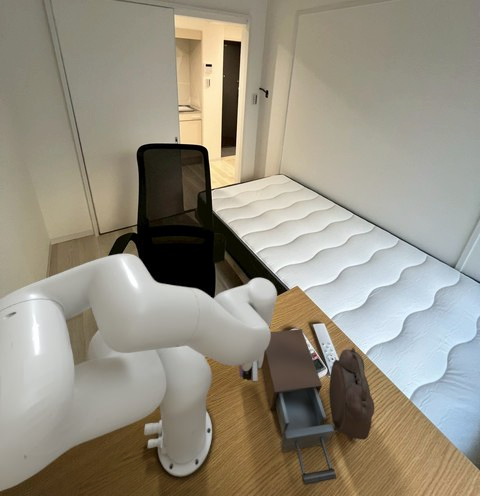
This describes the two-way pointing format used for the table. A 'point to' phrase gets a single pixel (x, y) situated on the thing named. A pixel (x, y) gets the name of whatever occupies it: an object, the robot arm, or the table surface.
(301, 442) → the tray
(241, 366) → the purple cube
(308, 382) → the brown drawer cabinet
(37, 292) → the robot arm
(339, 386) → the brown beanbag pouch
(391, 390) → the table surface
